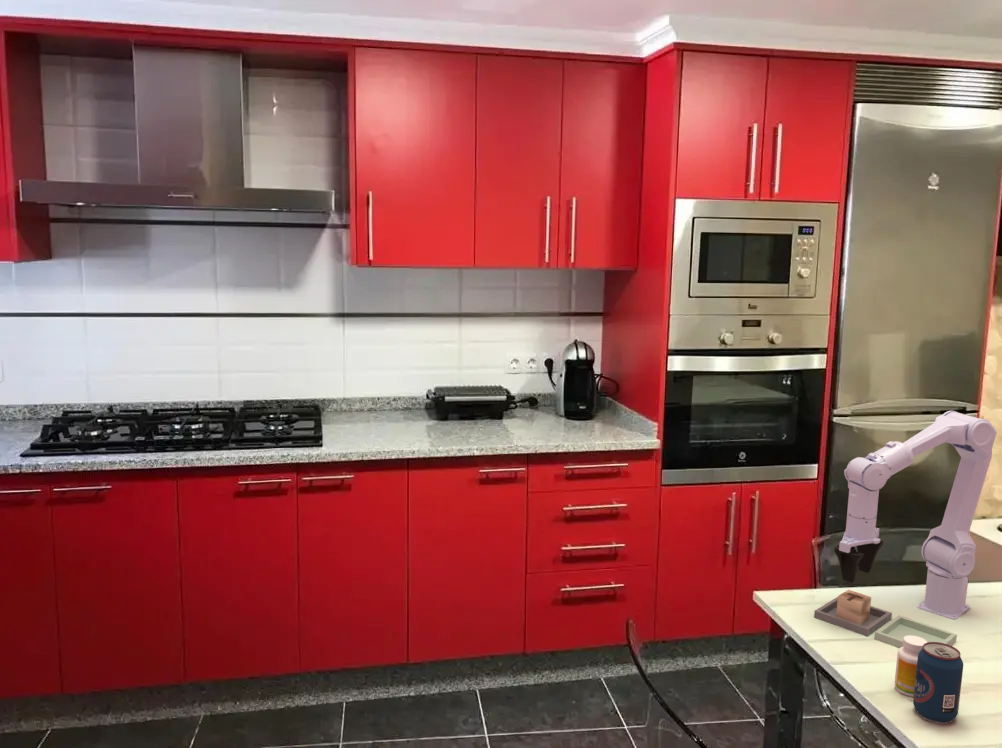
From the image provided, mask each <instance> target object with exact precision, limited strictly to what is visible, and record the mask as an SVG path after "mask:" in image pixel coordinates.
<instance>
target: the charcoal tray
mask: <svg viewBox="0 0 1002 748" xmlns="http://www.w3.org/2000/svg"><path fill="white" fill-rule="evenodd" d="M837 600H838V596H836V597H835V598H833V599H831V600H830V601H828V602H826V603H825V604H822V606H819V607H818V608H817V609H815V610H814V611H813V612H814V613H813V618H815V619H817V620H820V621H823V622H825V623H829V624H831V625H834V626H837V627H840V628H842V629H845V630H847V631H851V632H853V633H857V634H858V635H863V636H865V637H866V638H867V637H869V636H871V635H872V634H873V633H875V632H876V631H877V630H878V629H880V628H881V627H883V626H884V625H886V624H887V623H888V622H890V621H891V620H892V619H893V618H892V617H893V616H892V615H893V613H892V612H891V611H888V610H884V609H881V608H878V607H875V606H872V605H871V606H870V617H869V619H868V620H867V621H865V622H864V623H863V624H861V625H859V624H856V623H853V622H850V621H848V620H845V619H842V618H839V617H836V612H837Z"/></svg>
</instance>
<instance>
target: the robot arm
mask: <svg viewBox="0 0 1002 748" xmlns="http://www.w3.org/2000/svg"><path fill="white" fill-rule="evenodd" d="M997 432H998V431H997V430H996V429H995V428H994V426H993V424H992V423H991V421H990V420H987V419H985V418H979V417H975V416H972V415H967V414H964V413H960V412H958V411H956V410H948V411H946V412H944V413H943V414H940V415H938V416H936V418H935V420H934V422H933V423H932V424H929V425H928V426H927V427H925V428H924V429H922V430H920V431H919V432H918V433H916V434H914V435H913V436H912V437H910V438H909V439H907V440H906V441H904V442H901V441H897V440H894V441H888V442H886V443H885V444H886V445H885V446H883V447H882V448H879V449H878V450H876V451H873V452H869V453H868V454H867V456H865V457H860V456H857V457H854V458H853V459H852V460H850V461H849V462H848V464H847V466H846V468H845V469H844V471H843V472H844V473H843V474H844V477H845V479H846V480H847V488H848V500H847V511H846V512H847V513H846V521H845V523H846V524H845V531H844V533H843V536H842V539H841V541H839V544H837V545H836V546H834V554H835V555H836V557H837V559H838V563H839V567H840V572H841V576H842V581H844V582H845V581H846V582H849V583H854V582H855V580H856V576H857V571H858V570H859V572H864V573H865V574H866V573H867V574H869V573H870V572H871V569H872V567H873V564H874V562H875V559H876V557H877V554H878V552H879V551H880V549H881V548H882V546H884V541H883V540H881V538H879V537H880V528H878V527H877V516H878V507H879V505H878V504H879V493H880V490H881V489H882V488H883V487H884V486H885V485H886V483H887V481H888V480H889V479H890V478H891V477H892V476H893V475H895V474H897V473H898V472H900V471H903V469H906V468H907V467H909V466H911V465H912V463H913V458H914V457H916V456H918V455H920V454H922V453H925V452H927V451H928V450H931V449H933V448H936V447H937V446H939V445H942V444H945V443H947V444H951V446H952V447H954V449H955V451H956V452H957V453H958V455H959V456H960V460H959V464H958V467H957V471H956V474H955V477H954V480H953V485H952V487H951V491H950V494H949V498H948V502H947V504H946V508H945V510H944V515H943V518H942V521H941V524H940V525H938V526H936V527H933V528H932V529H930V531H929V535H928V537H927V538H926V539H925V541H924V542H923V544H922V545H921V549H920V552H921V558H923V560H924V561H925V566H926V567H927V574H926V582H925V595H924V600H923V601H922V602H921V603H919V604H918V605H916V608H917V609H919V610H921V611H925V612H928V613H931V614H934V615H937V616H941V617H943V618H947V619H950V620H953V621H954V620H957V619H959V617H962V615H963V614H965V613H966V612H967V611H968V610H969V609H970V608H971V606H970V605H968V604H966V603H967V594H968V585H969V579H968V575H970V574H972V573H971V572H972V571H973V570H974V568H975V566H976V556H975V554H976V550H977V546H976V543H975V542H974V540H973V538H972V537H971V535H970V530H971V528H972V527H971V526H972V524H973V520H974V517H975V514H976V511H977V507H978V504H979V500H980V497H981V493H982V489H983V487H984V484H985V481H986V477H987V474H988V470H989V467H990V464H991V460H992V457H993V446H994V443H995V440H996V437H997V434H998V433H997Z"/></svg>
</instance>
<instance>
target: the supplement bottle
mask: <svg viewBox="0 0 1002 748" xmlns="http://www.w3.org/2000/svg"><path fill="white" fill-rule="evenodd" d="M925 643H927V641H926V640H925V639H923V638H921V637H917V636H911V635H910V636H905V637H904V638H903V647H901V648H899V649H898V651H897V657H896V665H895V666H896V667H895V677H894V688H895V690H896V691H898V692H899V693H901V694H902V695H904V696H907V697H911V698H912V697H913V698H914V689H915V679H916V670H917V660H918V653H919V652H920V651H921V649H922V648H923V645H924V644H925Z"/></svg>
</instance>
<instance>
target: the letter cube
mask: <svg viewBox="0 0 1002 748" xmlns="http://www.w3.org/2000/svg"><path fill="white" fill-rule="evenodd" d="M837 597H838V600H837V612H836V617H839V618H842V619H845V620H848V621H850V622H853V623H856V624H859V625H861V624H863V623H864V622H865V621H867V620H868V619H869V617H870V606H872V604H871V603H872V596H870V595H866V594H863V593H861V592H857V591H855V590H851V589H847V590H845V591H844V592H842V593H840V594H838V596H837Z"/></svg>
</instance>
